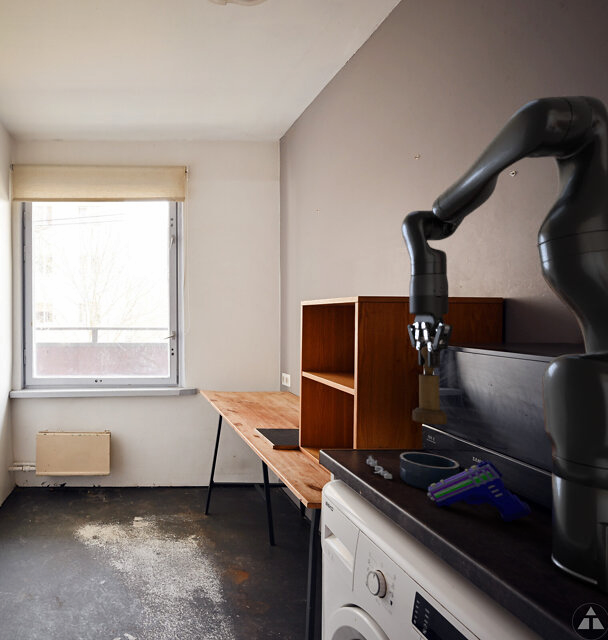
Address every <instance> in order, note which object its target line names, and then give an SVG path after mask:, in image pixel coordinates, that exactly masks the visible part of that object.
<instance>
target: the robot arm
mask: <svg viewBox="0 0 608 640" xmlns="http://www.w3.org/2000/svg"><path fill="white" fill-rule="evenodd" d="M542 158H543V159H544V158H545V159H547V158H548V159H550V158H552V159H553V161H554V164H555V167H556V173H557V182H558V183H557V192H556V194H555V197H554V199H553V201H552V203H551V205H550V206H549V208H548V210H547V212H546V213H545V215H544V217H543V218H542V220H541V223H540V225H539V227H538V230H537V233H536V238H535V241H536V248H537V249H536V250H537V255H538V262H539V267H540V272H541V275H542V277H543V279H544V281H545V283H546V284H547V286H548V287H549V288H550V289H551V291H552V292H553V293H554V294H555V296H556V297H557V298H558V299H559V300H560V301H561V303H563V305H564V307H566V308H567V310H569V312H570V313H571V315H573V317H574V319H575V320H576V322H577V324H578V326H579V328H580V331H581V335H582V339H583V344H584V349H585V353H569V354H563V355H560V356H557V357H555V358H554V359H552V360H551V361H550V362H549V363H548V364H547V365H546V367H545V369H544V371H543V374H542V380H541V395H542V407H543V422H544V423H543V424H544V430H545V433H546V436H547V437H548V439H549V442H550V444H551V539H552V541H551V544H552V545H551V547H552V549H551V551H552V553H551V565H553V567H555V568H556V569H557V570H558V571H560V572H561V573H562V574H564V575H566V576H568V577H570V578H572V579H574V580H576V581H578V582H581V583H583V584H585V585H587V586H591V587H593V588H596V589H598V590H600V591H602V592H603V593H605V594H608V109H607V106H606V105H605V103H604V102H603V101H602V100H601V99H600V98H597V97H595V96H590V95H572V96H571V95H569V96H547V97H539V98H536V99H533V100H530V101H527V102H526V103H525V104H523V105H522V106H521V107H520V108H518V109H517V110H516V111H515V112H514V113H513V114H512V115H511V116H510V117H509V118H508V119H507V121H506V122H505V123H504V124H503V125H502V126H501V127H500V129H499V130H498V131H497V133H496V134H495V135H494V137H492V139H491V140H490V142H488V143H487V145H486V146H485V147H484V148H483V150H482V151H481V152H480V154H479V155H478V156H477V157H476V159H475V160H474V161H473V162H472V164H471V165H470V166H469V167H468V168H467V169H466V171H465V172H464V173H463V174H462V175H461V176H460V177H459V178H458V179H457V180H455V181H454V182H453V183H452V184H451V185H449V186H448V188H446V189H445V190H444V191H442V193H441V194H439V195H438V196H437V197H436V198H435V200H434V201H433V202H432V205H431V210H414V211H411V212H409V213H408V214H407V215H405V217H404V218H403V220H402V223H401V228H400V229H401V235H402V238H403V242H404V244H405V248H406V250H407V254H408V256H409V262H410V278H409V285H408V286H409V290H408V291H409V314H410V315H415V317H414V322H413V324H408V325H407V330H408V334H409V339H410V343H411V347H412V348H415V349H416V350H417V351H418V366H419V367H423V365H424V364H425V359H424V357H423V356H422V354H421V350H422V348H423V347H424V346H428V351H430V352H428V367H430V368H435V369H439V368H440V367H441V352H443V350H447V349H448V347H449V344H450V341H451V337H452V333H453V330H454V325H452V324H446V323H445V319H444V315H447V314H448V313H449V310H450V309H449V307H450V306H449V305H450V304H449V303H450V302H449V300H450V299H449V280H448V279H449V278H448V257H447V253H446V252H445V251H444V250H443V249H438V248H434V247H432V246H431V245H430V244H429V242H430V241H433V242H434V241H442V240H445V239H448V238H449V237H451V236H453V235H454V234H455V232H456V231H457V229H458V228H459V226H461V224H462V223H463V221H464V220H465V219H466V217H467V216H469V215H470V214H472V213H473V212H474V211H476V210H477V209H478V208H480V207H482V206H483V205H484V204H485V203H486V202H487V201H488V200H489V199H490V198H491V197H492V195H493V193H494V192H495V189H496V186H497V184H498V179H499V176H500V175H501V174H502V173H503V171H505V170H506V169H508V168H510V167H511V166H512V165H515V163H518V162H520V161H521V160H524V159H542ZM428 241H429V242H428Z"/></svg>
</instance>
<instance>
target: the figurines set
mask: <svg viewBox="0 0 608 640" xmlns="http://www.w3.org/2000/svg"><path fill="white" fill-rule="evenodd" d="M374 458H375V456H373V455H372V454H371V455H368V459H366V464H367V465H369V466H370V467H373V468H374V470H375V471H374V474H379V475H381V476H383V478H384V479H385V480H388V479H389V480H393V474H391V473H389V472H388V470H384V468H383V466H381V465H378V460H375V459H374Z"/></svg>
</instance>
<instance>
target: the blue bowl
mask: <svg viewBox="0 0 608 640" xmlns="http://www.w3.org/2000/svg"><path fill="white" fill-rule="evenodd" d="M459 473H460V463H458V462H457V461H456V460H454V459H452V458H448V457H446V456H442V455H437V454H432V453H427V452H417V451H411V452H410V451H408V452H402V453H401V454H400V455H399V476H400V478H401V479H402V481H403V482H405V483H406V484H408V485H410V486H412V487H414V488H416V489H417V488H418V489H422V490H425V491H428V487H430V486H431V484H433V483H435V484H436V483H439V482H440V480H445V479H448V478H450V477H452V476H454V475H457V474H459Z"/></svg>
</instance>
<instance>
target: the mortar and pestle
mask: <svg viewBox="0 0 608 640" xmlns="http://www.w3.org/2000/svg"><path fill="white" fill-rule="evenodd" d="M428 352H430V351H428V346H424V347H423V348H422V350H421V354H422V356H423V357H424V359H425V364H424V365H423V366H422V367H423V371H424V373H419V374H418V387H419V388H418V389H419V390H418V394H419V395H418V396H419V397H418V398H419V399H418V401H419V402H418V403H419V404H418V405H419V406H418V407H416V408H415V409H413V410H412V421H414V422H417V423H420V424H428V425H447V424H448V415H447V412H445V411H444V410H443V409H441V405H440V403H441V402H440V375H439V374H434V372H435V369H436V368H430V367H428Z"/></svg>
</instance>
